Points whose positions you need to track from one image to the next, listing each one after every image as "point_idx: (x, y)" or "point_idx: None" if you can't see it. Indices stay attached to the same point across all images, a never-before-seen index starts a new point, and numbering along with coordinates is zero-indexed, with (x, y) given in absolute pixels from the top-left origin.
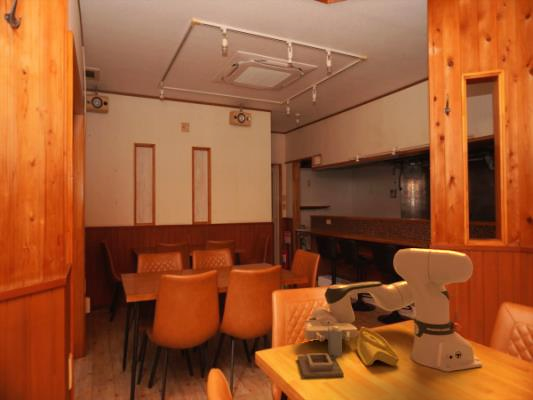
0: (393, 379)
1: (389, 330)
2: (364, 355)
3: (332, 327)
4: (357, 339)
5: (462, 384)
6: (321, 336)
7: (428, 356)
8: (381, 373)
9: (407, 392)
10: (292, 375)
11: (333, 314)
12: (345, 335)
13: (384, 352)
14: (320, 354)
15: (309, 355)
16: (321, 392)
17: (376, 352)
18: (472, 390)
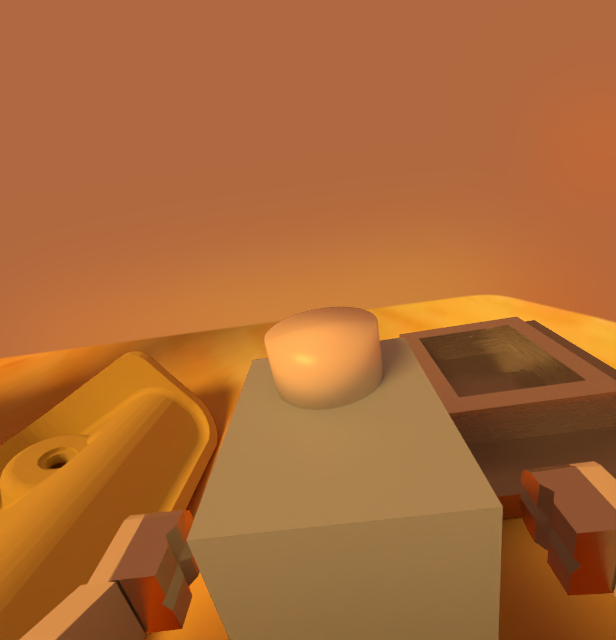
0: (184, 371)
1: None
2: (152, 490)
3: (371, 314)
4: None
5: (24, 375)
6: (586, 477)
7: None
8: None
9: (202, 336)
10: (603, 341)
11: None
12: (166, 533)
13: (105, 368)
14: (497, 393)
15: (582, 374)
16: (438, 305)
17: (148, 359)
18: (42, 361)
